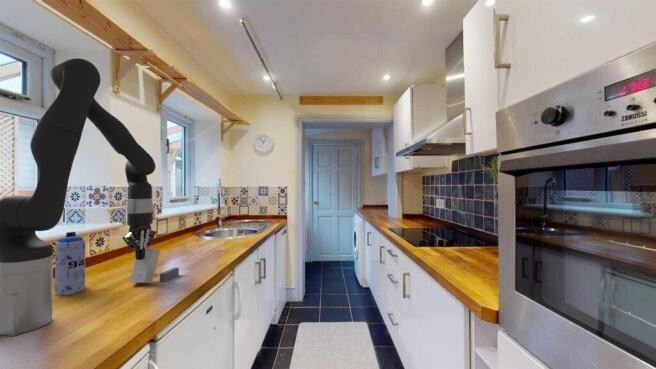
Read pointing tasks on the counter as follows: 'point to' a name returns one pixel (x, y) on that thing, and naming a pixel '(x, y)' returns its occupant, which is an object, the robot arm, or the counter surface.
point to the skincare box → (145, 267)
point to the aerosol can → (69, 264)
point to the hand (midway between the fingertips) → (140, 259)
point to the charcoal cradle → (169, 274)
